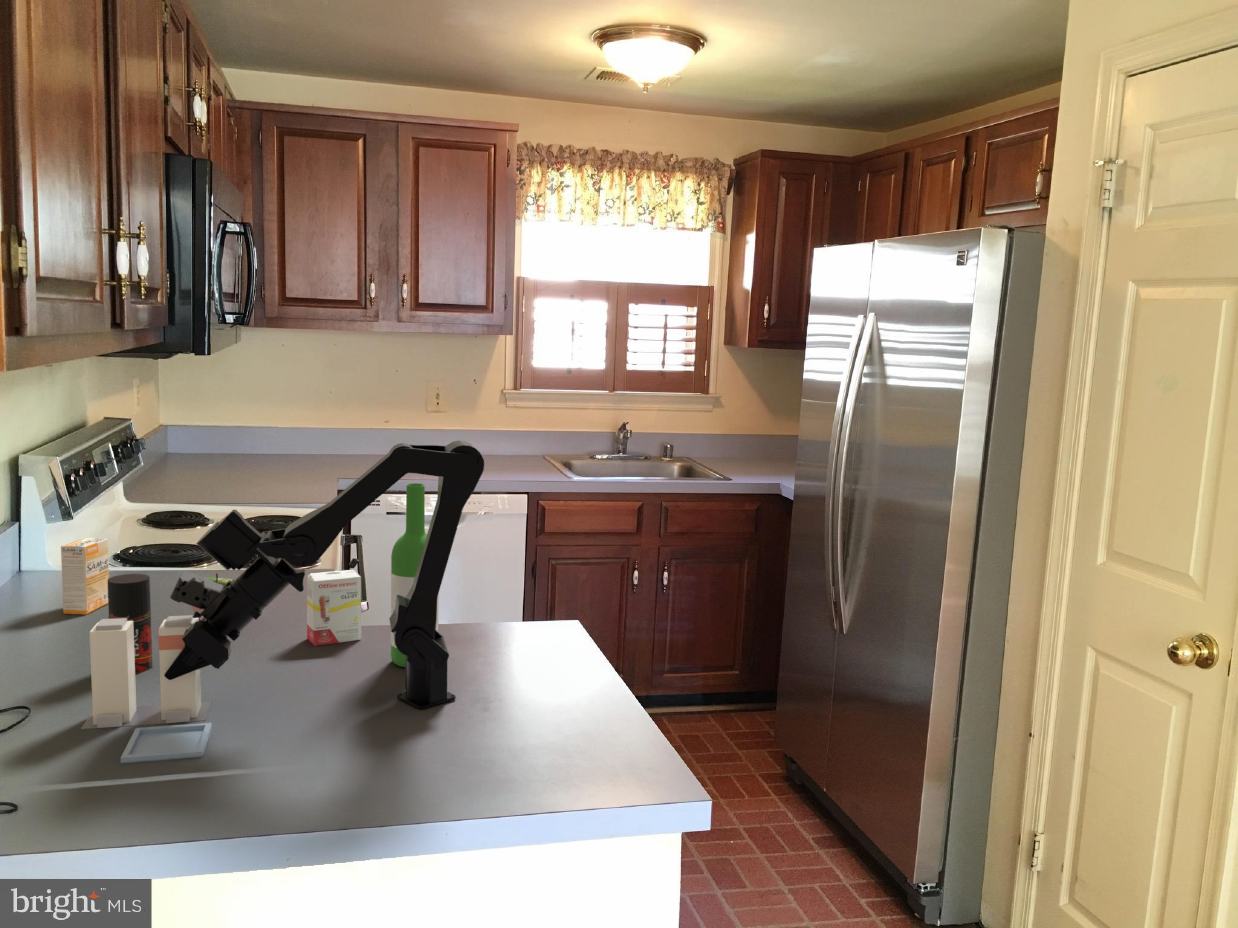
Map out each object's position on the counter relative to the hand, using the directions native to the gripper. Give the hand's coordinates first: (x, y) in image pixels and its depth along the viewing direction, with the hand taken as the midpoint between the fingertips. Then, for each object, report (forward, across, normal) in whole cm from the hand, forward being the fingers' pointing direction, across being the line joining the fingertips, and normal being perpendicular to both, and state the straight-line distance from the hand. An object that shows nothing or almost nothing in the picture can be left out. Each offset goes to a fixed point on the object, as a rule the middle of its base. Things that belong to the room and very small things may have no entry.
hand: (169, 671), depth 136 cm
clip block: (+7, 0, +3) cm, 7 cm away
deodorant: (+11, -21, -2) cm, 23 cm away
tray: (+4, +11, +6) cm, 13 cm away
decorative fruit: (+4, -43, +6) cm, 43 cm away
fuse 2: (+3, 0, +5) cm, 6 cm away
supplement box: (+22, -58, -12) cm, 63 cm away
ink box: (-11, -31, +20) cm, 39 cm away
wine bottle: (-20, -17, +29) cm, 39 cm away
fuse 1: (+9, 0, -1) cm, 9 cm away
